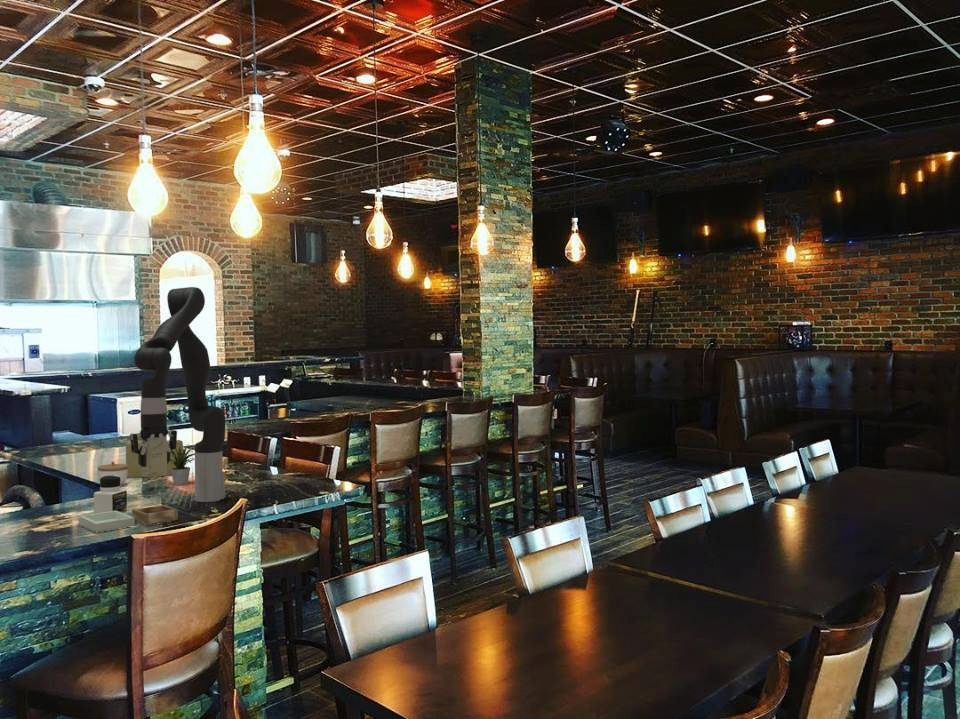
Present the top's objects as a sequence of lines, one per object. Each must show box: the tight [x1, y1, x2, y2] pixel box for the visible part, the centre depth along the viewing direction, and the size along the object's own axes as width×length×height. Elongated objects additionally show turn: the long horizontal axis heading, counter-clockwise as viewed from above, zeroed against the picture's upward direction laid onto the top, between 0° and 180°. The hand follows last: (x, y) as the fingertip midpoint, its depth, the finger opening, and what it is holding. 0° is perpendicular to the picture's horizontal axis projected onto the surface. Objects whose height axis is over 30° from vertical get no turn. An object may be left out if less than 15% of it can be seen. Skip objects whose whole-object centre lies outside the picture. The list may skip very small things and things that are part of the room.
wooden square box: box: [131, 504, 179, 527], centre depth 239 cm, size 10×10×4 cm
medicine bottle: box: [93, 475, 128, 514], centre depth 251 cm, size 7×7×12 cm
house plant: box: [170, 443, 195, 486], centre depth 300 cm, size 14×14×16 cm
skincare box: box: [141, 436, 168, 478], centre depth 239 cm, size 6×4×12 cm
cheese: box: [125, 439, 186, 479], centre depth 319 cm, size 22×10×15 cm, turn 95°
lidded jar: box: [97, 461, 128, 487], centre depth 297 cm, size 11×11×9 cm
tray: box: [78, 511, 135, 534], centre depth 233 cm, size 11×14×3 cm
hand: (154, 464), depth 239 cm, fingers closed on skincare box, 6 cm apart
